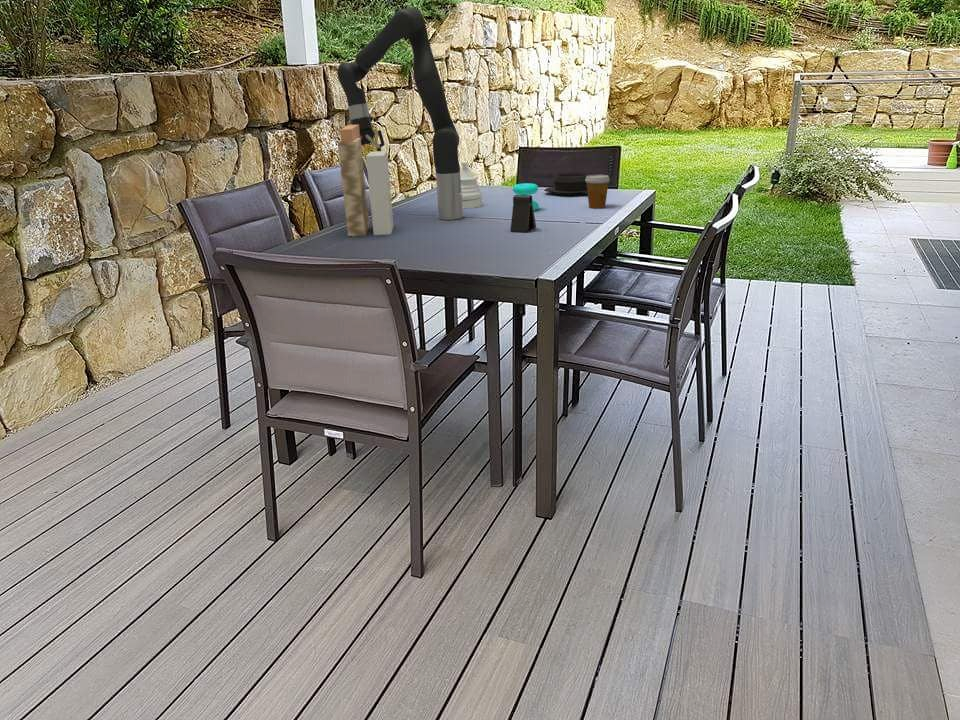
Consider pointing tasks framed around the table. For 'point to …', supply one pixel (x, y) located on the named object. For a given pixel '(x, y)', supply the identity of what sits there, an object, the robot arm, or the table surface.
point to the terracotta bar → (349, 133)
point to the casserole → (569, 184)
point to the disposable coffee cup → (597, 190)
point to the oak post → (354, 187)
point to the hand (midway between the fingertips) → (369, 160)
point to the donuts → (527, 191)
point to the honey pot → (469, 188)
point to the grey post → (380, 192)
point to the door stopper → (522, 214)
